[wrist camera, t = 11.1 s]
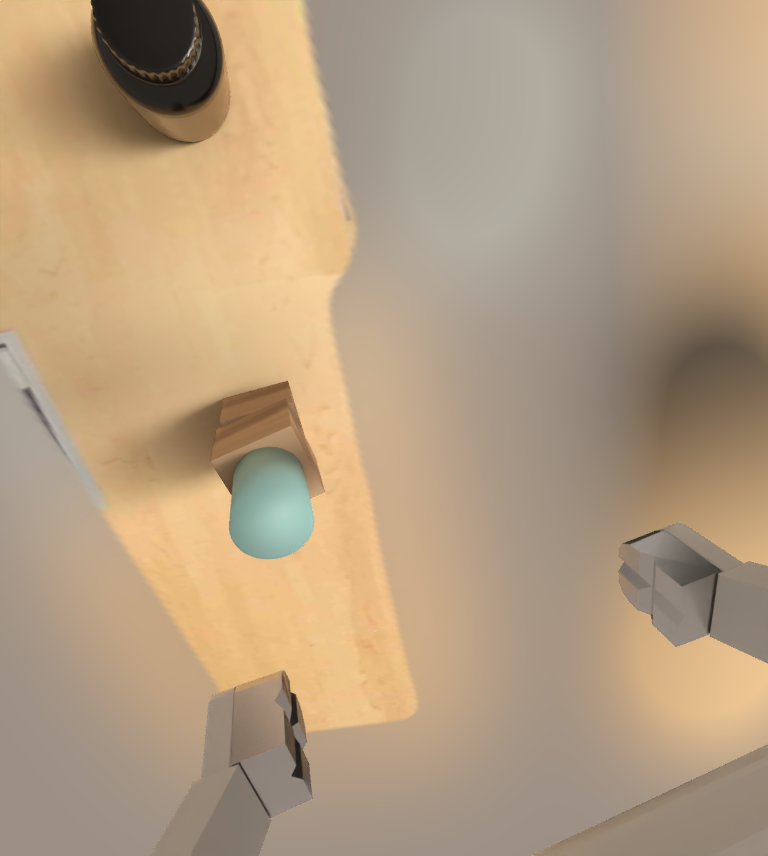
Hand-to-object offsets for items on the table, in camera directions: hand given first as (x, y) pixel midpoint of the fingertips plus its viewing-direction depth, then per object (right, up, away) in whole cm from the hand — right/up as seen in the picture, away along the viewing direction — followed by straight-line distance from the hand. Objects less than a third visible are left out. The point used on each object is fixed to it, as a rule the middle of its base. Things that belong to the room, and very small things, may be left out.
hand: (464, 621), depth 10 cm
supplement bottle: (-16, +29, +23) cm, 40 cm away
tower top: (-11, +3, +28) cm, 31 cm away
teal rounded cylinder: (-10, +1, +23) cm, 25 cm away
